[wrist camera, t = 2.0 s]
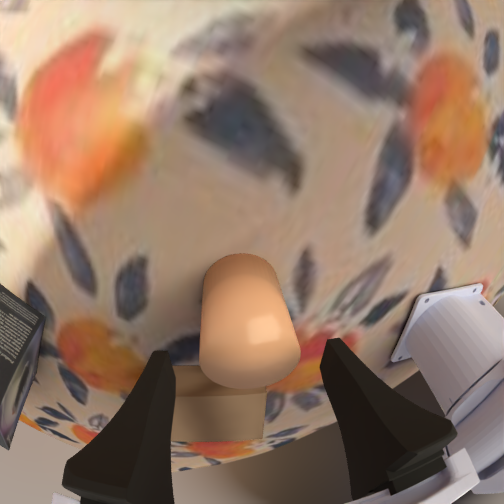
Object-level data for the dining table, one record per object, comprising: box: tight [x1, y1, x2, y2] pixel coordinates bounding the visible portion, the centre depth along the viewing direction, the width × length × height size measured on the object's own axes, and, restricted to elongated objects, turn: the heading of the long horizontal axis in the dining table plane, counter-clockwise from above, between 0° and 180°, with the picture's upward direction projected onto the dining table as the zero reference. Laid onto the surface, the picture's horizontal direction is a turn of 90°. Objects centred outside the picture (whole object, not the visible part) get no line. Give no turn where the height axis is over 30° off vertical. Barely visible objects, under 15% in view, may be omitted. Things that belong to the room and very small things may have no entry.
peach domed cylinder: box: [199, 253, 301, 389], centre depth 15 cm, size 5×5×6 cm
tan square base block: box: [171, 366, 267, 442], centre depth 21 cm, size 9×9×3 cm
